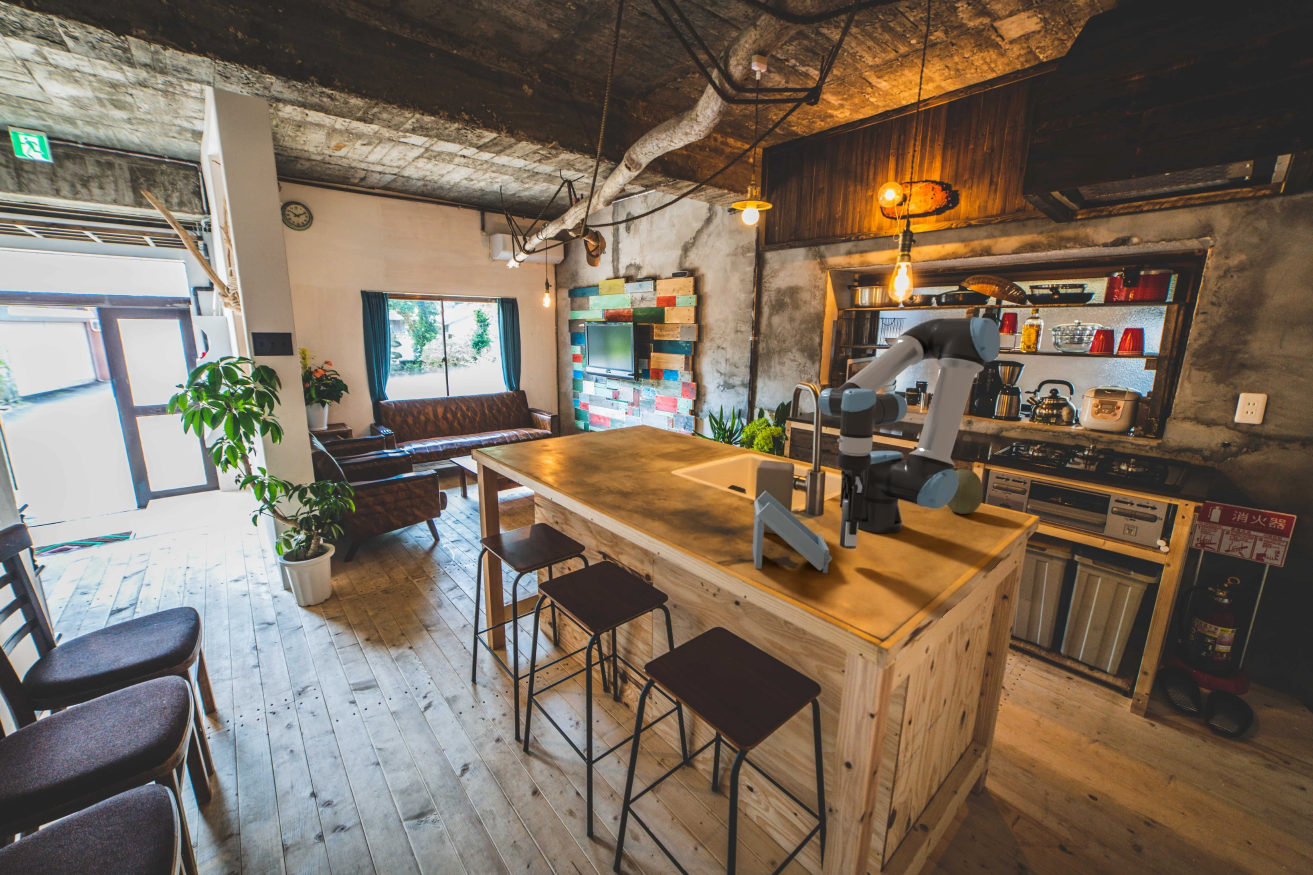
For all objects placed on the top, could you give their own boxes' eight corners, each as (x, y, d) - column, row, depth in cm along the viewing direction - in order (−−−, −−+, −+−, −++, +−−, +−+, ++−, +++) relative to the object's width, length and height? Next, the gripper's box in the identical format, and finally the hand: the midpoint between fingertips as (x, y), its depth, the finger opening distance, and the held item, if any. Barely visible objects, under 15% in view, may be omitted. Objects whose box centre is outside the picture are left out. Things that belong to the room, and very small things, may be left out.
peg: (854, 542, 132) (857, 498, 130) (858, 549, 128) (861, 503, 126) (838, 542, 133) (841, 498, 130) (841, 548, 129) (844, 503, 126)
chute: (822, 555, 136) (828, 493, 132) (831, 573, 125) (837, 506, 122) (751, 551, 138) (754, 490, 134) (754, 568, 127) (757, 502, 124)
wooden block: (790, 525, 157) (794, 462, 153) (787, 536, 148) (792, 470, 144) (757, 521, 160) (761, 459, 156) (753, 532, 151) (756, 466, 147)
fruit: (935, 511, 171) (940, 468, 168) (947, 504, 178) (953, 463, 175) (973, 521, 163) (980, 475, 160) (984, 513, 170) (991, 469, 167)
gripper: (831, 444, 134) (826, 528, 139) (847, 460, 117) (840, 555, 122) (861, 444, 133) (854, 529, 138) (881, 461, 117) (873, 556, 121)
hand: (848, 541), depth 130 cm, fingers closed on peg, 4 cm apart
